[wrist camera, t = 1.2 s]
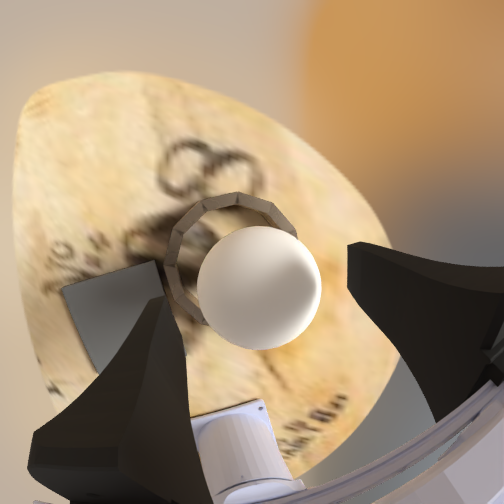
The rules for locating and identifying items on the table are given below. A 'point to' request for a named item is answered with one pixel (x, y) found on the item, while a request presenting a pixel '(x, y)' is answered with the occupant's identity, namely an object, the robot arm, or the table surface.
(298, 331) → the lightbulb
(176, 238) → the collar
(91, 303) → the mat
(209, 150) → the table surface
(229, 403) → the table surface
